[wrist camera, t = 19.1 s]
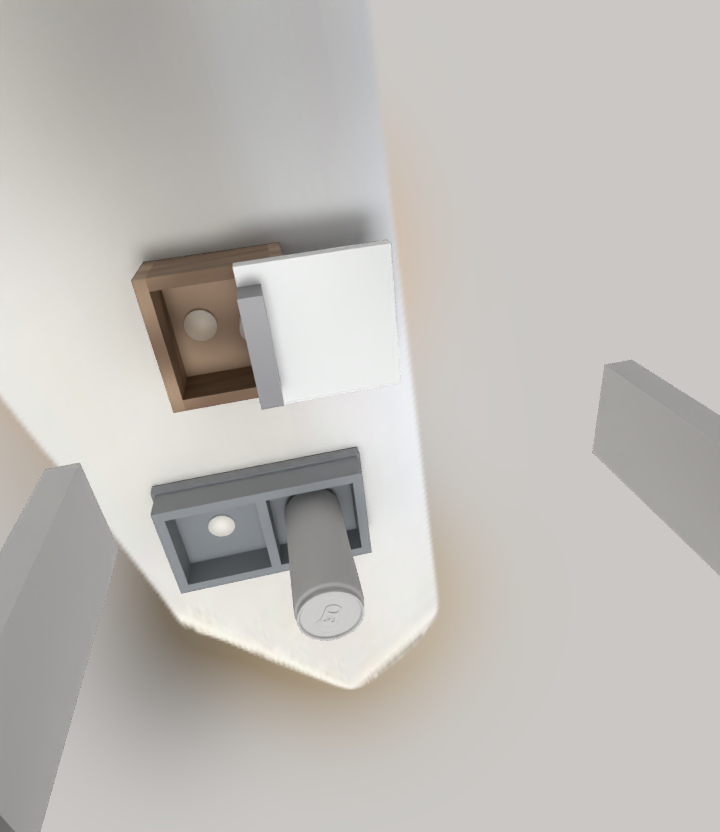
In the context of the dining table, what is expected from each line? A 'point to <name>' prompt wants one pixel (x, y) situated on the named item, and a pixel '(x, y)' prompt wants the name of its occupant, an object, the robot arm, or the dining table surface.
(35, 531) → the robot arm
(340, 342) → the lid
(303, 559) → the beverage can
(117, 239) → the dining table surface
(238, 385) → the tray
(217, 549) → the socket board
